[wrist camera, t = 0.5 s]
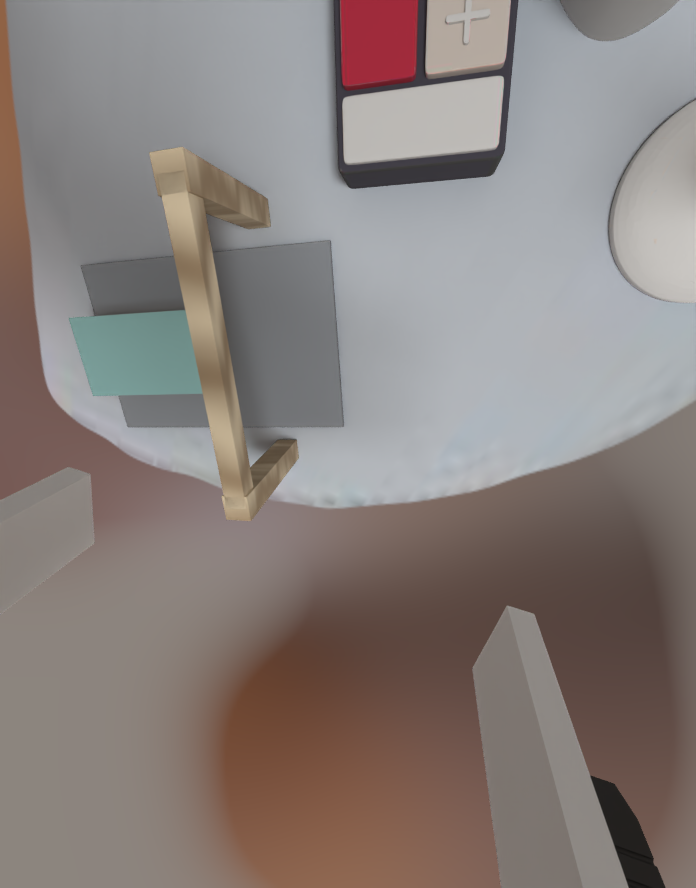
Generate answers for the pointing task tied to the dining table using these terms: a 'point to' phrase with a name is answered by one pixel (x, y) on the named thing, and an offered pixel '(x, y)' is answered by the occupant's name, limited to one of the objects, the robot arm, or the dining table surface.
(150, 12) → the dining table surface
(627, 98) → the dining table surface
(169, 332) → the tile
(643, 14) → the lumpy-topped squat cylinder
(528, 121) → the dining table surface
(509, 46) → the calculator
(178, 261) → the rail
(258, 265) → the mat
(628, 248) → the candlestick
